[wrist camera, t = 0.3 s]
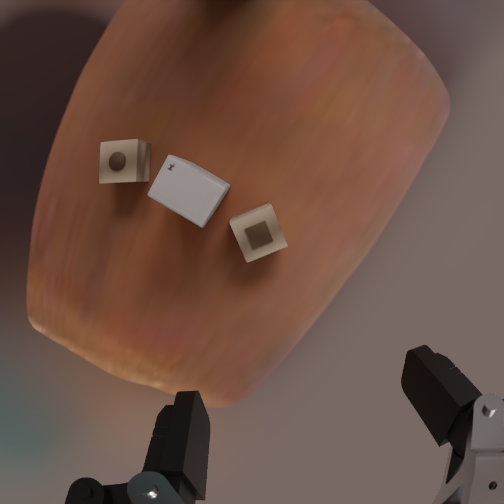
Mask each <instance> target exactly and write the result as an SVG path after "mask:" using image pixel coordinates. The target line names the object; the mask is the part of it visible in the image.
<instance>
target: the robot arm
mask: <svg viewBox="0 0 504 504" xmlns="http://www.w3.org/2000/svg"><path fill="white" fill-rule="evenodd" d="M401 384H402V389H403V391H404V393H405V395H406V396H407V397H408V399H409V400H410V402H411V404H412V405H413V406H414V408H415V409H416V411H417V412H418V414H419V416H420V417H421V419H422V420H423V421H424V423H425V425H426V426H427V428H428V430H429V431H430V433H431V434H432V436H433V437H434V439H435V441H436V442H437V444H438V445H439V447H440V446H442V445H443V444H445V443H447V442H450V444H451V447H450V449H449V453H448V458H447V463H446V468H445V472H444V476H443V481H442V484H441V488H440V490H439V492H438V494H437V496H436V498H435V500H434V502H433V504H504V399H501V398H500V397H498V396H497V395H494V394H485V395H482V394H481V393H480V391H479V390H478V389H477V388H476V387H475V386H474V385H473V384H472V383H471V382H470V381H469V379H468V378H466V376H465V375H464V374H463V373H461V371H460V370H459V369H458V368H457V367H455V365H454V364H453V363H452V362H451V361H450V360H449V359H448V358H447V357H445V356H443V355H441V354H439V353H436V354H435V353H434V352H433V351H432V350H431V349H430V348H429V347H428V346H427V345H422V346H420V347H417V348H414V349H411V350H409V351H408V352H407V354H406V359H405V364H404V369H403V373H402V378H401ZM209 441H210V421H209V417H208V414H207V411H206V409H205V406H204V404H203V401H202V398H201V396H200V393H199V392H198V391H180V392H177V394H176V398H175V402H174V405H166V406H165V407H164V408H163V409H162V410H161V412H160V413H159V414H158V416H157V420H156V423H155V428H154V430H153V437H152V438H151V441H150V445H149V448H148V453H147V456H146V460H145V463H144V467H143V470H142V472H141V473H138V474H137V475H135V476H134V477H132V479H130V481H129V482H128V483H123V484H115V485H104V486H102V485H101V484H100V483H99V482H98V481H97V480H95V479H92V478H80V479H78V480H76V481H75V482H74V483H73V484H72V485H71V486H70V488H69V491H68V495H67V498H66V501H65V504H195V500H205V492H206V479H207V465H208V453H209Z"/></svg>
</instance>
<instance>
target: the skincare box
mask: <svg viewBox="0 0 504 504" xmlns="http://www.w3.org/2000/svg"><path fill="white" fill-rule="evenodd" d="M229 188H230V184H228V183H227V182H225V181H223V180H222V179H220V178H218V177H217V176H215V175H213V174H212V173H210V172H208V171H207V170H205V169H203V168H201V167H200V166H198V165H196V164H194V163H193V162H190V161H187V160H184V159H181V158H179V157H176V156H173V155H168V156H167V158H166V160H165V162H164V164H163V166H162V167H161V169H160V171H159V173H158V175H157V177H156V179H155V181H154V182H153V184H152V186H151V188H150V190H149V192H148V194H147V195H148V196H149V197H150V198H152V199H154V200H155V201H157V202H158V203H160V204H162V205H163V206H165V207H167V208H168V209H170V210H172V211H174V212H176V213H177V214H179V215H181V216H183V217H184V218H186V219H188V220H189V221H191V222H193V223H195V224H196V225H198V226H200V227H201V228H203V227H204V226H205V224H206V223H207V222H208V220H209V219H210V217H211V216H212V215H213V213H214V212H215V210H216V209H217V207H218V206H219V204H220V203H221V201H222V199H223V198H224V196H225V195H226V193H227V191H228V190H229Z"/></svg>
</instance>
